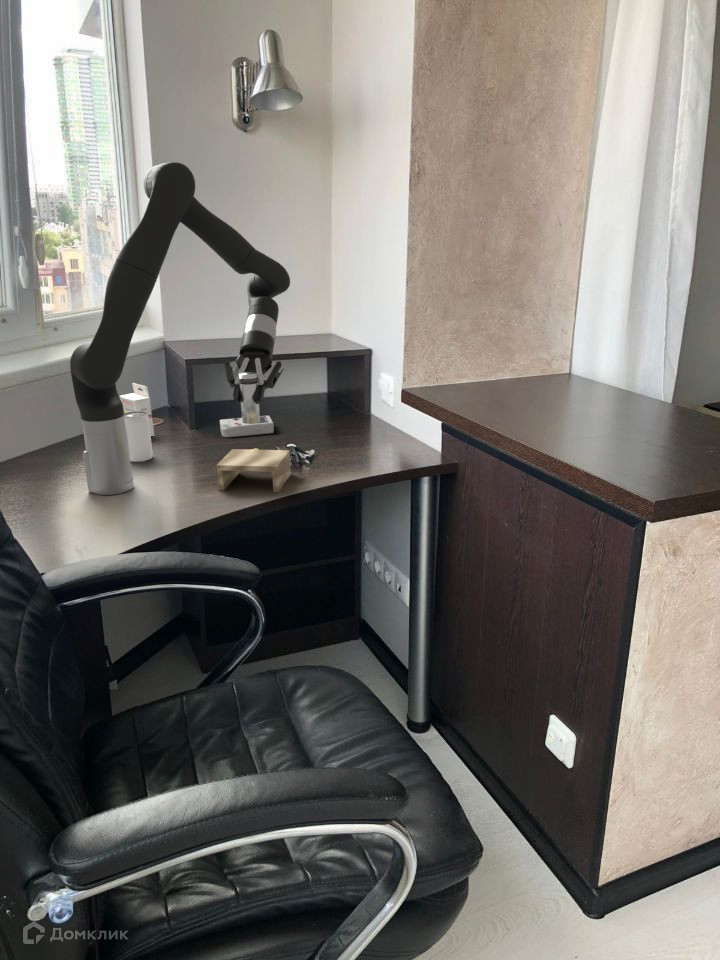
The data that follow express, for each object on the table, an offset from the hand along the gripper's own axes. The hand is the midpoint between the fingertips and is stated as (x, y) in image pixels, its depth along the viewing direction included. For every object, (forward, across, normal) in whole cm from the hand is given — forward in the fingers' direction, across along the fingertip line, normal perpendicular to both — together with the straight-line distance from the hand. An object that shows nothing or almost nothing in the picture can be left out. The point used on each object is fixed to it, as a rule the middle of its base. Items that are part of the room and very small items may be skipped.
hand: (247, 401), depth 168 cm
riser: (+13, 0, +15) cm, 20 cm away
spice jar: (+2, 0, +5) cm, 5 cm away
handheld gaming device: (-16, -14, +45) cm, 50 cm away
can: (+2, -35, +26) cm, 44 cm away
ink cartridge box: (-12, -44, +40) cm, 61 cm away
